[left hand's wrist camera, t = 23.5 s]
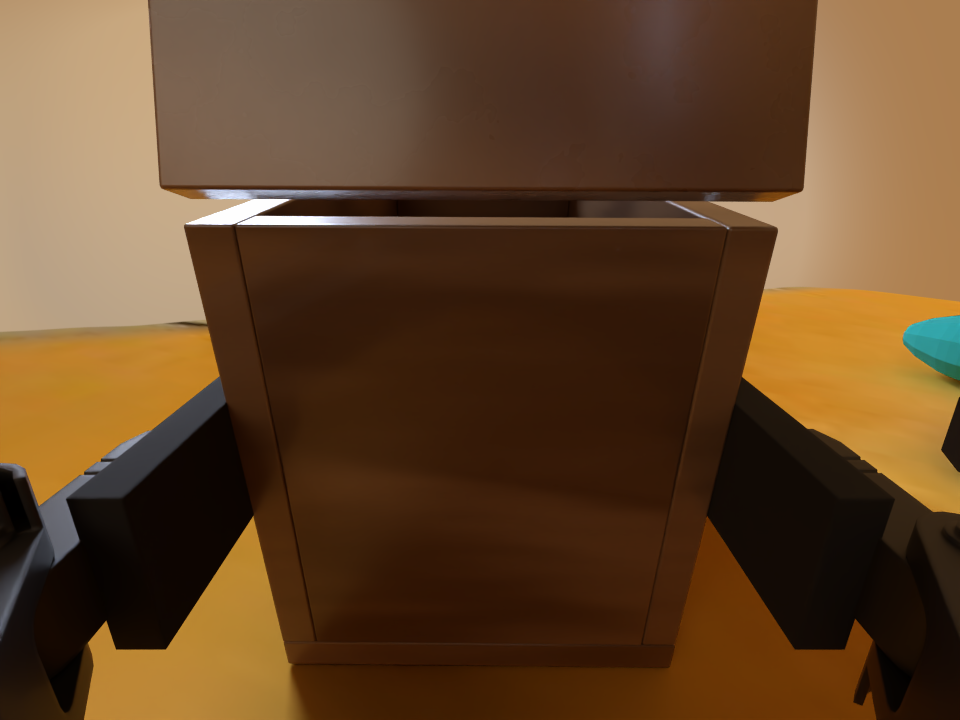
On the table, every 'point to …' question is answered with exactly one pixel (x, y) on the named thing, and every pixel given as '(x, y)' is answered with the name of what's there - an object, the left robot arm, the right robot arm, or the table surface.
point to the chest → (480, 416)
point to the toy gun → (940, 365)
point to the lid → (483, 99)
